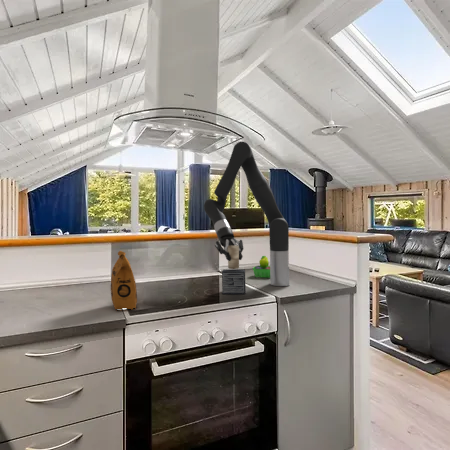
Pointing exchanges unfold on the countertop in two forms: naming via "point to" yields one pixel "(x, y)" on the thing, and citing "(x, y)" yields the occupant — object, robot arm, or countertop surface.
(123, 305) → the coffee package
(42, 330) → the countertop surface
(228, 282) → the small box
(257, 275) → the fruit basket
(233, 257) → the birch cylinder
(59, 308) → the countertop surface
